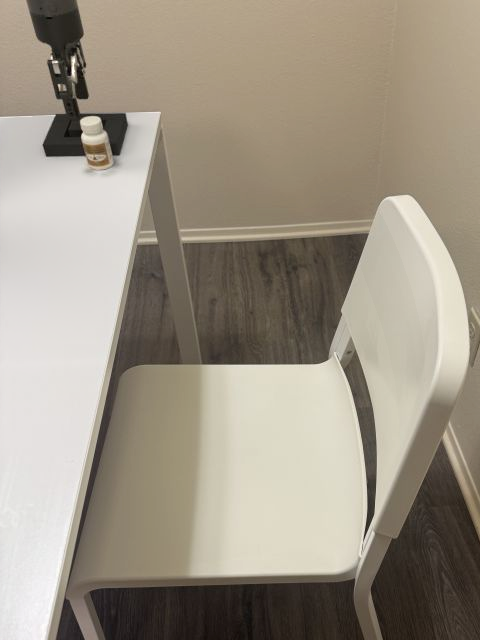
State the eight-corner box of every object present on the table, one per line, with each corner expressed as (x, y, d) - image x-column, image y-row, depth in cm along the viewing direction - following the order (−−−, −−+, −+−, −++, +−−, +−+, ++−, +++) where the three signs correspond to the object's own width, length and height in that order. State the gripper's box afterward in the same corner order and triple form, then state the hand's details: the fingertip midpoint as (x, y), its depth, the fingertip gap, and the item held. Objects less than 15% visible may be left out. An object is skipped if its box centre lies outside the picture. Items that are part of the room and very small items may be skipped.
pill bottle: (86, 170, 105) (74, 126, 99) (91, 158, 108) (79, 114, 102) (111, 170, 105) (101, 126, 100) (116, 158, 108) (106, 114, 102)
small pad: (72, 146, 111) (67, 129, 109) (77, 133, 114) (73, 117, 112) (100, 145, 111) (96, 129, 109) (104, 132, 114) (100, 116, 112)
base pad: (45, 156, 108) (42, 144, 107) (59, 125, 116) (55, 113, 114) (119, 155, 109) (116, 143, 107) (128, 124, 117) (125, 112, 115)
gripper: (38, -10, 100) (65, 92, 113) (17, 20, 91) (49, 127, 103) (84, -10, 101) (106, 92, 113) (68, 20, 92) (93, 127, 104)
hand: (79, 109), depth 108 cm, fingers open, 8 cm apart
